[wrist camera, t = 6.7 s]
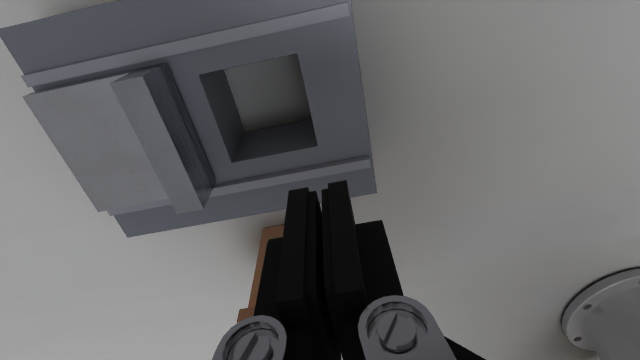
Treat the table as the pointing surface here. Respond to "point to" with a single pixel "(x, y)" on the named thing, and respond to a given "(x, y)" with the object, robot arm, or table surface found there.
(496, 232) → the table surface
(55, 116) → the shutter
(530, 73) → the table surface
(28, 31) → the socket box
